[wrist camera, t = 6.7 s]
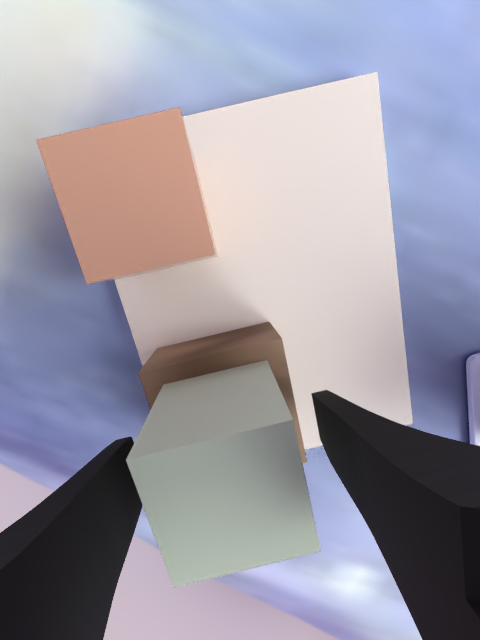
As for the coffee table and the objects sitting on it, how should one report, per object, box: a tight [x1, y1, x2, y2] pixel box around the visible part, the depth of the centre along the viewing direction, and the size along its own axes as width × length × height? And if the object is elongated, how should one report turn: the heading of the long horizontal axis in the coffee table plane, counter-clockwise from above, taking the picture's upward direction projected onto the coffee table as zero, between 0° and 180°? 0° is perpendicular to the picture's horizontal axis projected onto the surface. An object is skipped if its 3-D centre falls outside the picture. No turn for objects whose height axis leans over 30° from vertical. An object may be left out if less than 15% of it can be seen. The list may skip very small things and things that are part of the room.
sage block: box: [126, 360, 321, 587], centre depth 10 cm, size 4×4×4 cm
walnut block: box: [138, 322, 307, 463], centre depth 13 cm, size 6×6×3 cm
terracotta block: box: [36, 107, 218, 284], centre depth 11 cm, size 4×4×4 cm
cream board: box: [114, 72, 413, 450], centre depth 15 cm, size 14×18×1 cm
